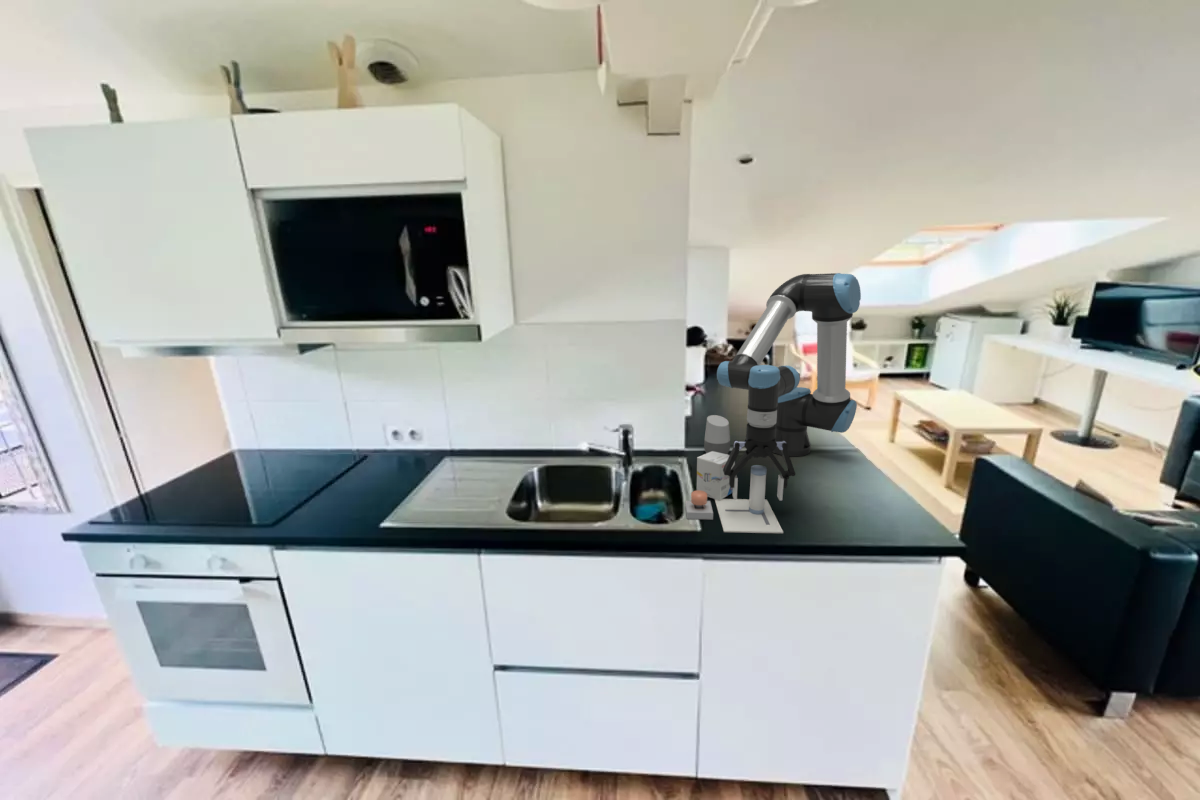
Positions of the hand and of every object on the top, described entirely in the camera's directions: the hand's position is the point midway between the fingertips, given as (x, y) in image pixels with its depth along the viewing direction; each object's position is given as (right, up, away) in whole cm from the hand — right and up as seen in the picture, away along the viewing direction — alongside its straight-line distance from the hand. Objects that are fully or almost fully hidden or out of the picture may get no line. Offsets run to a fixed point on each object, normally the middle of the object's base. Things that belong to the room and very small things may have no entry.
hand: (757, 498), depth 135 cm
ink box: (-9, -1, +13) cm, 16 cm away
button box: (-16, -5, +2) cm, 17 cm away
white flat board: (-3, -5, -1) cm, 6 cm away
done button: (-16, -3, +1) cm, 16 cm away
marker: (0, -4, +1) cm, 4 cm away
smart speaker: (-1, +7, +44) cm, 44 cm away
